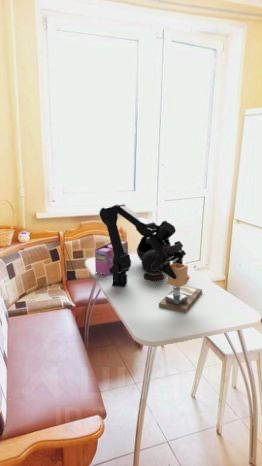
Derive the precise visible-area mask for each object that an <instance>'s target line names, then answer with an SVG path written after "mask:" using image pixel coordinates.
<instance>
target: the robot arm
mask: <svg viewBox="0 0 262 466" xmlns="http://www.w3.org/2000/svg"><path fill="white" fill-rule="evenodd" d="M119 215H120V216H121V217H122V218H124V219H125V220H126V221H128V223H130V224H132V225H133V226H134V227H135V229H136V231H137V232H138V233H139V234H140V235H141V236H142V237H144V236H147V235H151V234H153V235H151V236H150V237H147V238H146V241H145V244H148V243H150V244H151V246H152V247H153V249H154V250H155V253H154V254H155V255H156V254H157V255H158V256H159V259H157V260H156V261H155V262H154V263H153V264H151V268H152V270H153V271H155V270H157V269H158V267H159V268H160V269H159V270H158V271H161V272H162V273H163V274H164V275H166V276H167V275H168V276H170V277H172V278H173V279H176V278H177V277H176V275H175V274H174V272H173V270H172V269H171V267H170V265H171V262H172V264H174V263H179V264H182V260H183V259H184V257H185V255H187V253H186V252H185V250H184V249H183V247H184V245H183V244H182V242H181V241H180V240H178V241H175V242H174V244H172V245H171V244H170V245H171V246H170V245H169V244H166V243H165V242H164V241H166V240H168V239H169V240H170V238H171V237H172V236H173V235H174V234H175V233H176V231H177V230H176V227H175V226H174V225H173V224H172V223H170V222H168V221H167V220H164V221H162V222H161V224H160V225H158V224H156V223H155V222H154V221H152V220H150V219H148V218H143V217H142V216H140V215H138V214H137V213H136V212H134V211H133V210H132V209H130V208H129V207H127V206H126V204H124V203H116V204H115V205H112V206H106V207H102V208H101V209H100V210H99V216H100V219H101V222H102V223H103V224H104V225H105V226H106V229H107V232H108V236H109V240H110V243H111V244H112V248H113V252H114V257H113V266H112V267H111V268H110V269H109V271H110V274H111V275H112V284H111V286H112V287H126V285H127V284H128V274H127V272H129V270H130V268H131V267H132V260H131V256H130V254H129V253H128V254H126V253H125V252H124V250H123V246H122V243H121V241H122V239H121V236H120V235H121V234H120V232H119V229H118V225H117V223H118V218H119V217H118V216H119ZM110 274H109V275H110Z"/></svg>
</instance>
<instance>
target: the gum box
mask: <svg viewBox="0 0 262 466" xmlns="http://www.w3.org/2000/svg"><path fill="white" fill-rule="evenodd" d="M121 243H122V246H123V250H124V252H125V253H126V254H129V247H128V246H129V245H128V243H129V241H127V240H126V241H122V240H121ZM94 253H95V254H94V255H95V256H94V258H95V260H94V262H95V266H94V267H95V273H96V272H97V273H96V274H98V273H102V274H105V275H104V276H108V274H109V275H110V271H109V269H110V268H111V267H112V266H113V257H114V252H113V248H112V244H111V242H110V243H108V244H105V245H103V246H100V247H98V248H96V249H95V250H94ZM102 274H101V275H102Z"/></svg>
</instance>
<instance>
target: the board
mask: <svg viewBox="0 0 262 466" xmlns="http://www.w3.org/2000/svg"><path fill="white" fill-rule="evenodd" d="M202 292H203V289H202V288H201V289H200V288H198V287H197V288H196V287H191V286H186V285H183V286H181V287H180V294H183V293H185V295H186V296H187V302H185V303H183V304H182V305H180V306H176V305H173V304H171V303H168V302H166V296H168V295H169V294H171V293H173V289H172V290H171V291H170V292H169V293H168V294H166V296H165V297H163V299H162V300H160V301H159V302H158V307H160V308H164V309H169V310H170V311H171V310H173V311H177V312H180V313H184V314H185V313H187V311H188V310H189V309H190V308H191V306H192V305H193V304H194V303H195V301H196V300H197V299H198V298H199V297H200V295H201V294H202Z"/></svg>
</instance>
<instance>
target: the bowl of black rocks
mask: <svg viewBox="0 0 262 466" xmlns="http://www.w3.org/2000/svg"><path fill="white" fill-rule="evenodd" d="M151 235H153V234H151ZM151 235H147V236H142V237H141V239H140V241H139V243H138V245H137V248H136V255H137V257H138V258H139V260H140V262H142V257H143V256H144V254H145V253H146V252H147V251H150V250H154V249H153V247H152V246H151V244H150V243H148V244H145V241H146V238H147V237H150V236H151ZM164 242H165V243H166V244H169V245H170V246H172V245H171V242H170V238H169V239H168V240H166V241H164Z"/></svg>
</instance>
